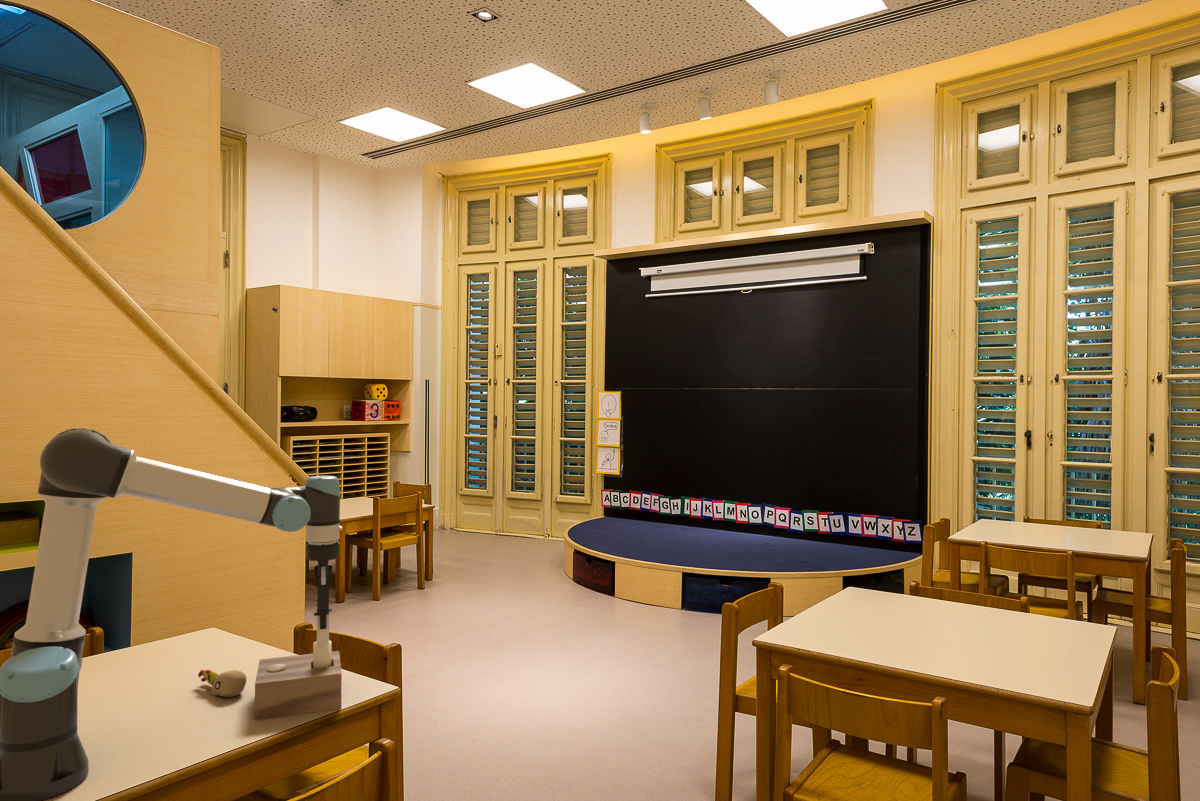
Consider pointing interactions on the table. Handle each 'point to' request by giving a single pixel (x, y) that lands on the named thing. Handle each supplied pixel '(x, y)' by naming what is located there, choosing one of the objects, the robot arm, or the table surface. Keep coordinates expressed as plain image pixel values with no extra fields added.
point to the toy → (225, 682)
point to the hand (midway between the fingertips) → (322, 641)
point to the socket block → (296, 686)
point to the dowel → (322, 654)
